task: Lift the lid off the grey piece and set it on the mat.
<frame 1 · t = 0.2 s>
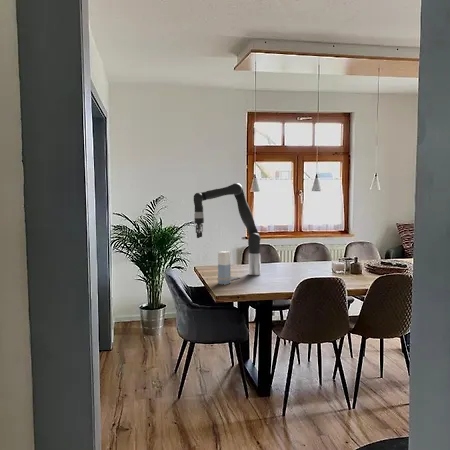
hand: (199, 237, 378), 29 cm above the table, tool pointing down, fingers open, 8 cm apart
grey piece: (224, 283, 337), on the table
mat: (228, 278, 354), on the table
lid: (224, 264, 335), point 14 cm above the table, touching grey piece
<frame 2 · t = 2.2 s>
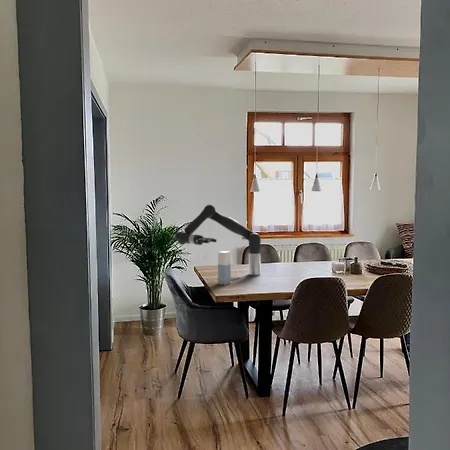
hand: (212, 241, 341), 30 cm above the table, tool horizontal, fingers open, 8 cm apart
nothing on the table moved.
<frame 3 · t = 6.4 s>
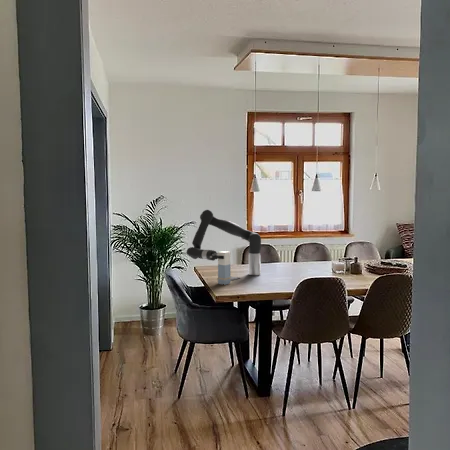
hand: (226, 257, 334), 20 cm above the table, tool horizontal, fingers closed on lid, 6 cm apart
lid: (224, 264, 335), point 14 cm above the table, touching gripper, grey piece
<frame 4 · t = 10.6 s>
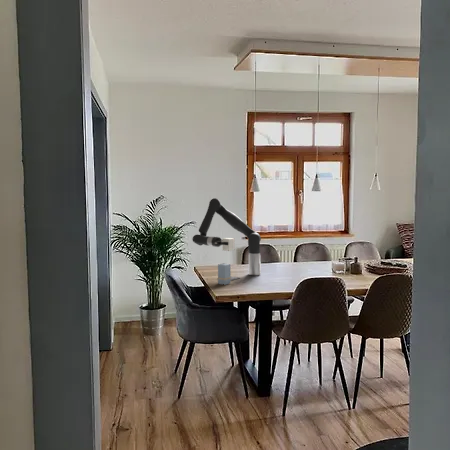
hand: (230, 243, 351), 27 cm above the table, tool horizontal, fingers closed on lid, 6 cm apart
lid: (228, 250, 353), point 22 cm above the table, touching gripper
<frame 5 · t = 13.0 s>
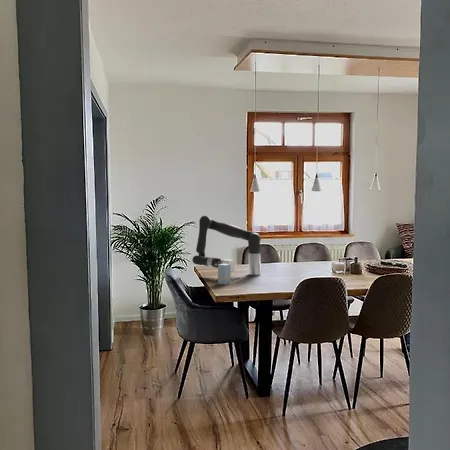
hand: (230, 264, 352), 11 cm above the table, tool horizontal, fingers closed on lid, 6 cm apart
lid: (228, 271, 354), point 5 cm above the table, touching gripper
when the fingers open (8 cm above the table, at t = 15.0 s): lid drops 1 cm, resting on mat.
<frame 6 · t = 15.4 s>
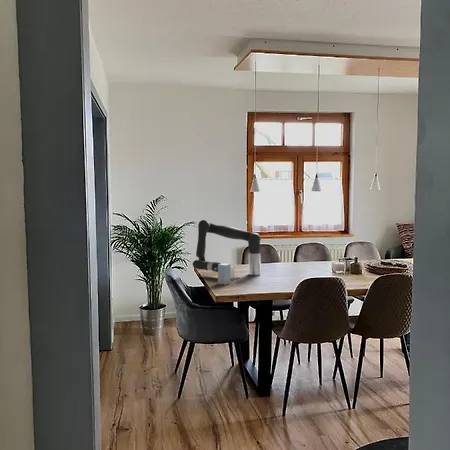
hand: (230, 269, 352), 8 cm above the table, tool horizontal, fingers open, 8 cm apart
lid: (228, 277, 354), point 1 cm above the table, touching mat
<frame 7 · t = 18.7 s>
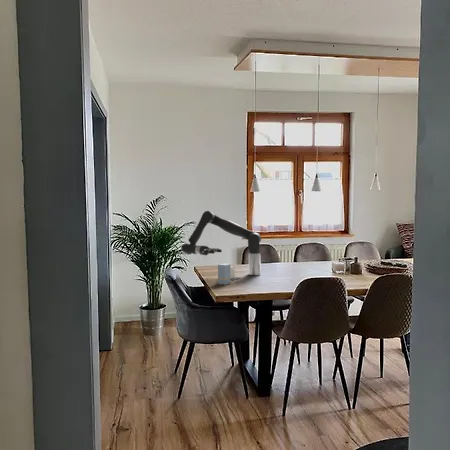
hand: (217, 251, 360), 20 cm above the table, tool horizontal, fingers open, 8 cm apart
nothing on the table moved.
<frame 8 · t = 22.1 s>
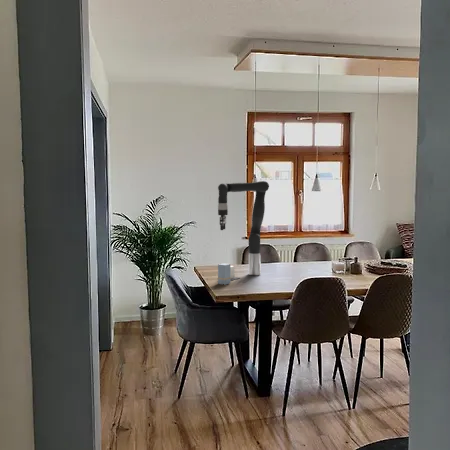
hand: (222, 229, 366), 36 cm above the table, tool pointing down, fingers open, 8 cm apart
nothing on the table moved.
at the end: lid inside the target area on the mat (0.0 cm from its centre), point 0.6 cm above the mat's base; lid tilted 0°; the gripper is holding nothing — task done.
